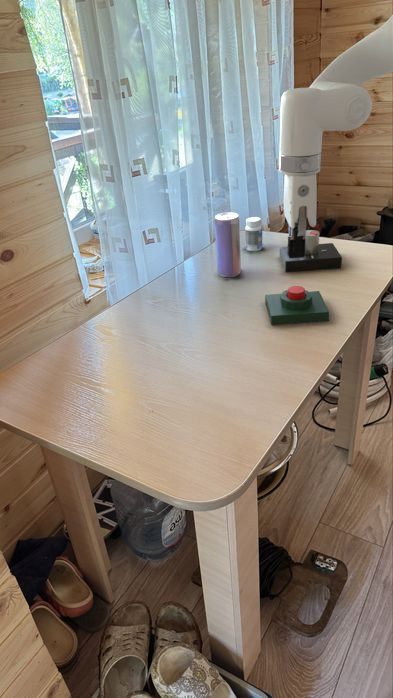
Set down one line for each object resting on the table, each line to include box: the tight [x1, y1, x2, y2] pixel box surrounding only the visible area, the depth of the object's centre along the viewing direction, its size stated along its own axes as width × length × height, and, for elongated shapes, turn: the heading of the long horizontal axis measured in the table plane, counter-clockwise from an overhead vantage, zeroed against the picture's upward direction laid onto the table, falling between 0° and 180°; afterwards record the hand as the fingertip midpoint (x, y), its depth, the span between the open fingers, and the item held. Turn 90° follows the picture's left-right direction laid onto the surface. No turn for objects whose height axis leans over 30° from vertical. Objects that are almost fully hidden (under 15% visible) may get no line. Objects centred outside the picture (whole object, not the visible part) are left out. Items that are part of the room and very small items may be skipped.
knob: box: [305, 229, 321, 255], centre depth 130 cm, size 4×4×5 cm
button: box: [287, 285, 306, 300], centre depth 109 cm, size 4×4×2 cm
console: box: [279, 242, 343, 273], centre depth 133 cm, size 14×10×3 cm
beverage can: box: [214, 211, 242, 279], centre depth 128 cm, size 6×6×15 cm
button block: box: [264, 289, 330, 326], centre depth 111 cm, size 12×10×4 cm
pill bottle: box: [244, 216, 263, 252], centre depth 143 cm, size 5×5×8 cm
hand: (295, 256), depth 105 cm, fingers closed
